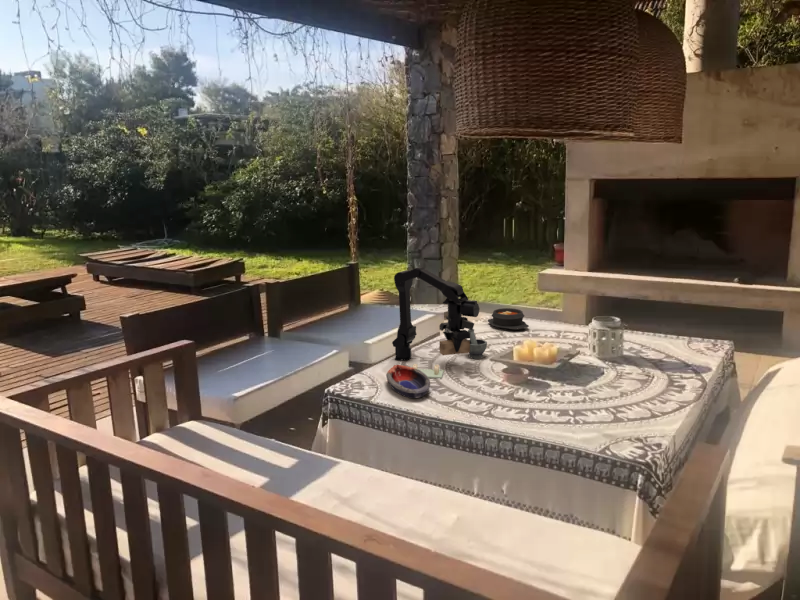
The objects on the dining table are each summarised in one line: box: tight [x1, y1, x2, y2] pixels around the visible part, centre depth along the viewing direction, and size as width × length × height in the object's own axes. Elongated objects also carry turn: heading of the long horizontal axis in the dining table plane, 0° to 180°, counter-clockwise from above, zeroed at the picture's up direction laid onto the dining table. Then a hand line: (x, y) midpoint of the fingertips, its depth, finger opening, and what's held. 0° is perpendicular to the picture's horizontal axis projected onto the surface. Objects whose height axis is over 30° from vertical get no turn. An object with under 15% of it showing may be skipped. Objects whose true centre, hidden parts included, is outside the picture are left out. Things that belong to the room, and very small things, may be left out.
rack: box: [411, 363, 445, 380], centre depth 267 cm, size 14×9×4 cm, turn 81°
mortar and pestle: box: [467, 328, 488, 360], centre depth 289 cm, size 11×9×12 cm
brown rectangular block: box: [439, 339, 470, 356], centre depth 275 cm, size 12×4×5 cm, turn 105°
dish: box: [385, 364, 431, 399], centre depth 253 cm, size 16×31×5 cm, turn 14°
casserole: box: [487, 307, 530, 330], centre depth 339 cm, size 25×19×8 cm
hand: (454, 350), depth 275 cm, fingers closed on brown rectangular block, 5 cm apart
